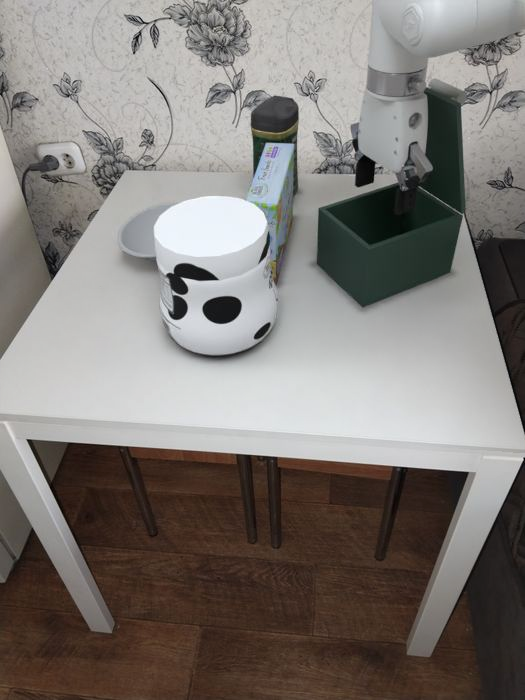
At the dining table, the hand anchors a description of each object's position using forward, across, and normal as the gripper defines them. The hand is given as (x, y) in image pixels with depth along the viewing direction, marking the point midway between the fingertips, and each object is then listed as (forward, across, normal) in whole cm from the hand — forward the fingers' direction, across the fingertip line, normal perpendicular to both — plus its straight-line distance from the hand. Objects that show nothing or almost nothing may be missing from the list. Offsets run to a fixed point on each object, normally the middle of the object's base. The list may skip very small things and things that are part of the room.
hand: (383, 197), depth 89 cm
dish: (+14, +25, +28) cm, 39 cm away
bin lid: (-6, +1, -8) cm, 10 cm away
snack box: (+14, +16, +11) cm, 24 cm away
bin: (+14, +1, -2) cm, 14 cm away
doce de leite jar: (+14, +1, +28) cm, 31 cm away
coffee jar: (+14, +32, +1) cm, 34 cm away
